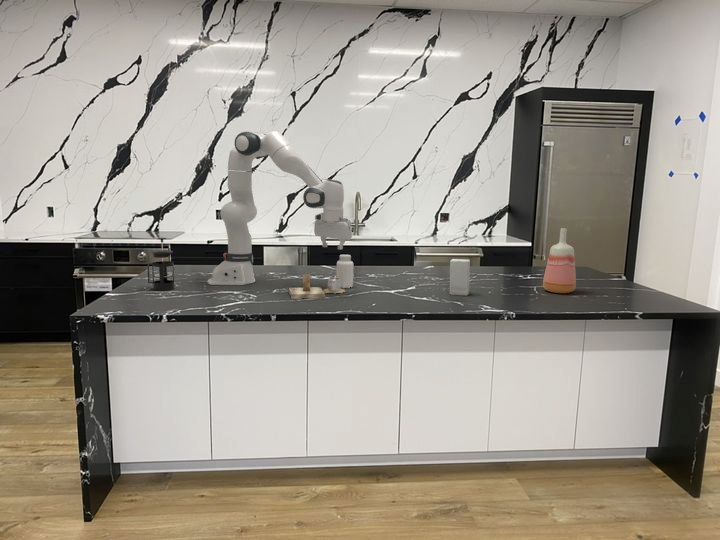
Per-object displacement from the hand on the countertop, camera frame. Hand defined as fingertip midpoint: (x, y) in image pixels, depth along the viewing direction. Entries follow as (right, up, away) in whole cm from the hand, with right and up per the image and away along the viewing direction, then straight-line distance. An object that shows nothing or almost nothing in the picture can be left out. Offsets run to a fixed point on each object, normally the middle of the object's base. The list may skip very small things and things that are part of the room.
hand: (332, 248), depth 244 cm
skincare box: (+57, -21, +3) cm, 60 cm away
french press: (-76, -18, +2) cm, 78 cm away
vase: (+105, -20, +12) cm, 107 cm away
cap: (+1, -19, +3) cm, 19 cm away
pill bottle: (+5, -18, +15) cm, 24 cm away
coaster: (0, -19, +3) cm, 20 cm away
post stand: (-11, -21, -6) cm, 24 cm away
